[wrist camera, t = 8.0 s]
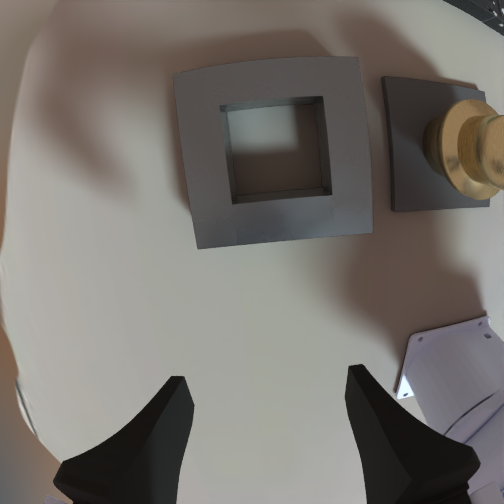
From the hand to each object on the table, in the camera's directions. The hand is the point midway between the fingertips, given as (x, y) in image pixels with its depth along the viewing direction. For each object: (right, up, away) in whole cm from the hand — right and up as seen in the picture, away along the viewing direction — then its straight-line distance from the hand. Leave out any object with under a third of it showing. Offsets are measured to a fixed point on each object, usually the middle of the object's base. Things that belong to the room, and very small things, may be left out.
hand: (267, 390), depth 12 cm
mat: (+13, +13, +5) cm, 19 cm away
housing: (+1, +12, +6) cm, 14 cm away
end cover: (+13, +13, +4) cm, 19 cm away
